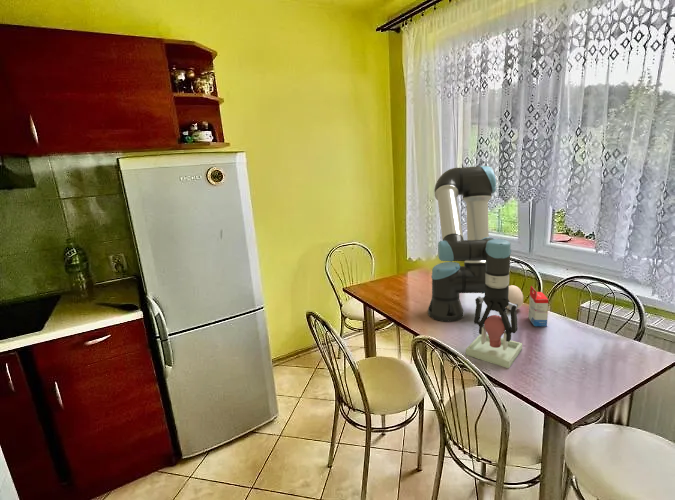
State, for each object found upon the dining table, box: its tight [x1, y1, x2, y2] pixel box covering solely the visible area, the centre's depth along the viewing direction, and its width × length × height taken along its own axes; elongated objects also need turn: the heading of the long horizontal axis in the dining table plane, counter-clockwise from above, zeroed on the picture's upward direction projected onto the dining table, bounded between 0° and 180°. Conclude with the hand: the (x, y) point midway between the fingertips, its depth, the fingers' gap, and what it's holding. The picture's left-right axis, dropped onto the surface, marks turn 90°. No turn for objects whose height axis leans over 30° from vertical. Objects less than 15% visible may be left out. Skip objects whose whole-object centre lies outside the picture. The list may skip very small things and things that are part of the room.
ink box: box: [527, 285, 549, 327], centre depth 150 cm, size 8×5×15 cm, turn 168°
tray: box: [465, 333, 523, 369], centre depth 132 cm, size 15×15×2 cm
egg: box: [506, 284, 524, 311], centre depth 163 cm, size 9×9×11 cm
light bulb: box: [484, 314, 506, 348], centre depth 130 cm, size 7×7×12 cm
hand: (494, 345), depth 132 cm, fingers closed on light bulb, 7 cm apart
